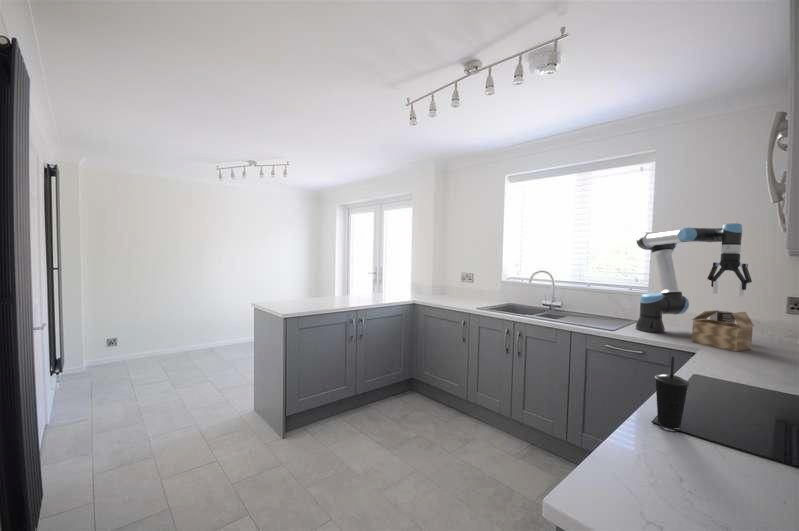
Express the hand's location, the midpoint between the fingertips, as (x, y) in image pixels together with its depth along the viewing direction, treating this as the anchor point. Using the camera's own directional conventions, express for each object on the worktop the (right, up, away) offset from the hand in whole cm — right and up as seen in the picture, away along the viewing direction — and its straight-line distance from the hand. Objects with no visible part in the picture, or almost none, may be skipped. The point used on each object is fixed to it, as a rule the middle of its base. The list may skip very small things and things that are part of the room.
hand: (727, 294), depth 188 cm
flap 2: (+2, -13, -6) cm, 14 cm away
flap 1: (-4, -12, +9) cm, 16 cm away
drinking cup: (-99, -30, -89) cm, 137 cm away
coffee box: (+12, -28, +17) cm, 35 cm away
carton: (-1, -28, +3) cm, 28 cm away
